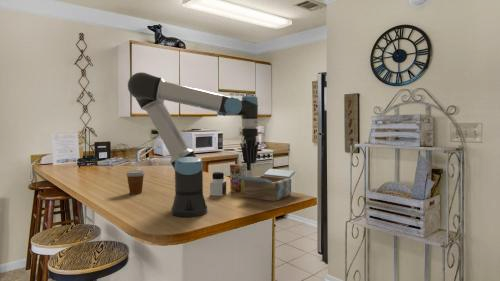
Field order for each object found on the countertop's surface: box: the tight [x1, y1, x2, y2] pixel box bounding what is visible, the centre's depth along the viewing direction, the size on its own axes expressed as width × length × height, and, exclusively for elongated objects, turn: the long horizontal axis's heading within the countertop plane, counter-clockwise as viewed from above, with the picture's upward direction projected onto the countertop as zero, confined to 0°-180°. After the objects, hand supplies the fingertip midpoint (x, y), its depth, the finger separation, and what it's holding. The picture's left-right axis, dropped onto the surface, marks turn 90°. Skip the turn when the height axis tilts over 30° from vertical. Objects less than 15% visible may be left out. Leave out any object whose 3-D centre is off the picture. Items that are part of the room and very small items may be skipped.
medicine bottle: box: [209, 171, 227, 197], centre depth 176 cm, size 7×7×12 cm
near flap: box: [238, 175, 273, 184], centre depth 162 cm, size 1×16×7 cm
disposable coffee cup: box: [125, 169, 145, 195], centre depth 181 cm, size 10×10×12 cm
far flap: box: [263, 168, 296, 179], centre depth 182 cm, size 1×16×7 cm
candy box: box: [229, 163, 247, 194], centre depth 182 cm, size 9×4×15 cm, turn 46°
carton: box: [244, 174, 292, 202], centre depth 172 cm, size 16×20×9 cm
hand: (250, 176), depth 159 cm, fingers closed
